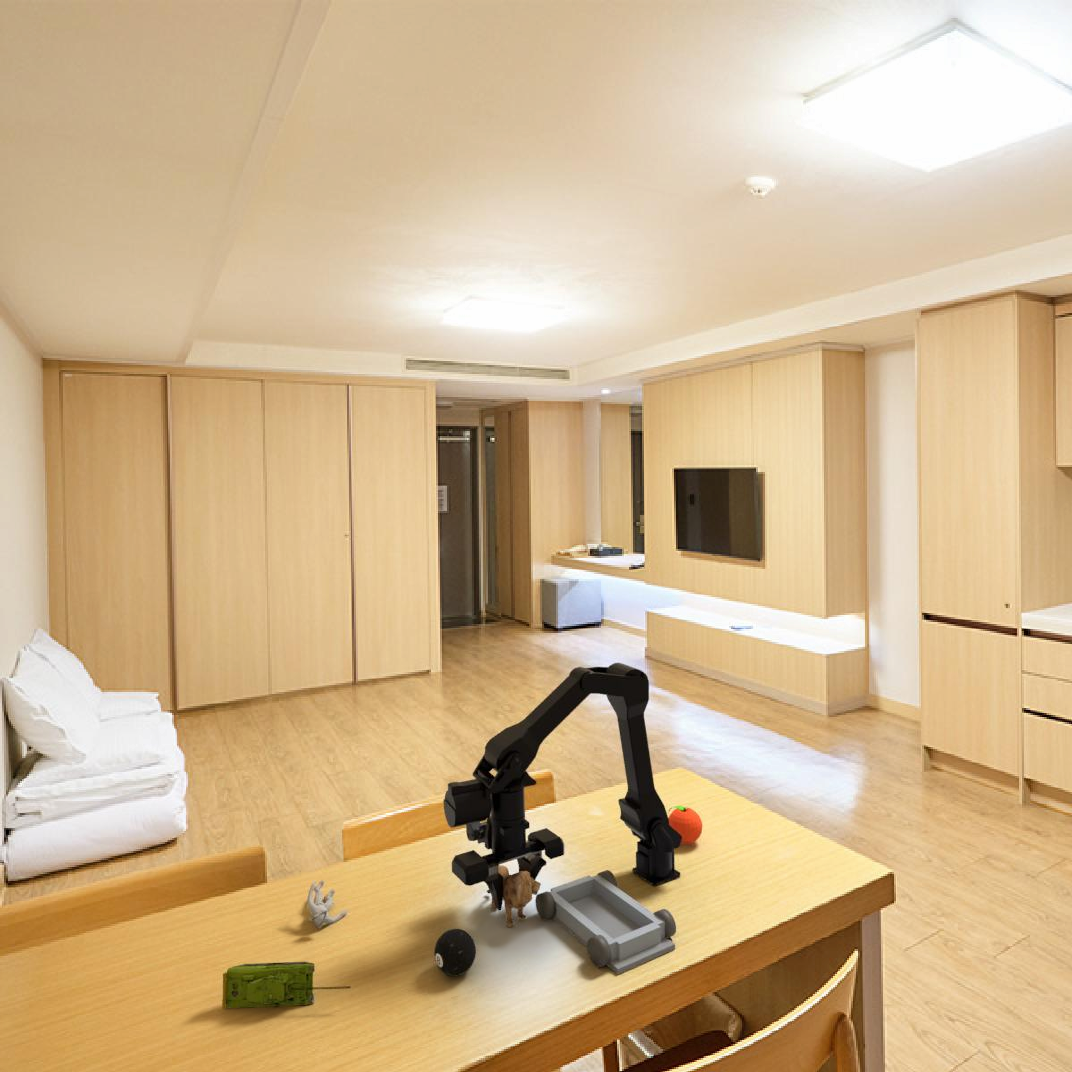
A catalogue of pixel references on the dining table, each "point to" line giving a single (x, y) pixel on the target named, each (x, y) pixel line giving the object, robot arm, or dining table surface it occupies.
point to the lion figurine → (516, 892)
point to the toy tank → (269, 985)
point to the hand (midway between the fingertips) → (510, 905)
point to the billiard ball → (455, 952)
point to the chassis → (608, 921)
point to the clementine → (686, 824)
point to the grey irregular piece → (321, 906)
